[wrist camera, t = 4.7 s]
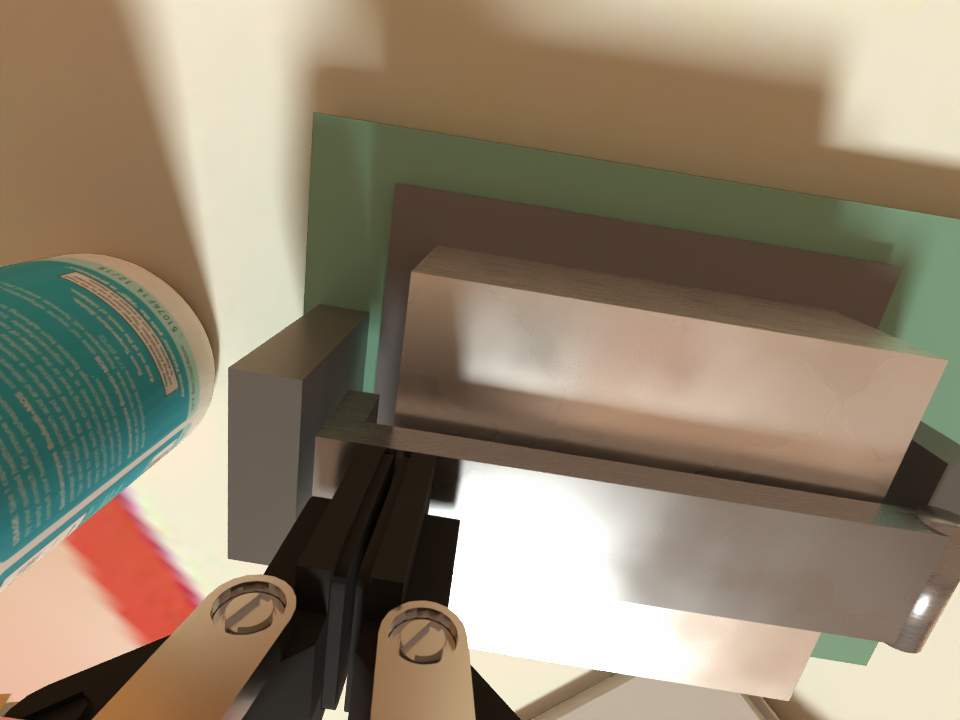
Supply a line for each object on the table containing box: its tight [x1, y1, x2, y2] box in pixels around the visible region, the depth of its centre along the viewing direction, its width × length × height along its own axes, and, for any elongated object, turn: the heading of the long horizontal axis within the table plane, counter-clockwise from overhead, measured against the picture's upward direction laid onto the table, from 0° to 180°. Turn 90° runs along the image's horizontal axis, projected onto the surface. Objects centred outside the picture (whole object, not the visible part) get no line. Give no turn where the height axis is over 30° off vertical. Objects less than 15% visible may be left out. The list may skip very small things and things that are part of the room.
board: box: [228, 112, 960, 701], centre depth 16 cm, size 22×16×7 cm
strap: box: [312, 390, 960, 653], centre depth 13 cm, size 15×3×3 cm, turn 81°
